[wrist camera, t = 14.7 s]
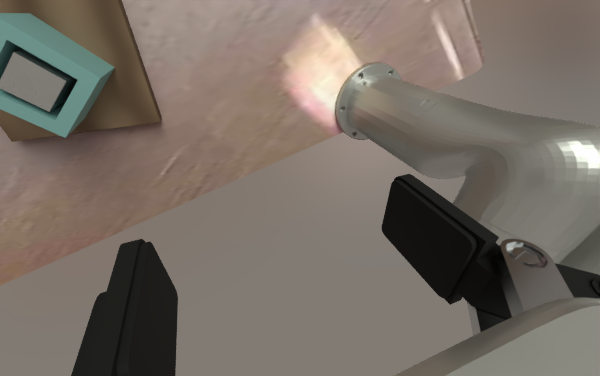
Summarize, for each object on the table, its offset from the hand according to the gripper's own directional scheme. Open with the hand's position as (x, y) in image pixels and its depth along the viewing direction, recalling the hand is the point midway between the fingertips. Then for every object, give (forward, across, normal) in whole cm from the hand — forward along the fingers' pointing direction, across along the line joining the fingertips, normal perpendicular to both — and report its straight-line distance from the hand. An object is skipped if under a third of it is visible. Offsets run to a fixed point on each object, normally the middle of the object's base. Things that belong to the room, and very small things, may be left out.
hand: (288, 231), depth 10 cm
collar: (+28, +16, -2) cm, 32 cm away
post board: (+30, +16, -2) cm, 34 cm away
